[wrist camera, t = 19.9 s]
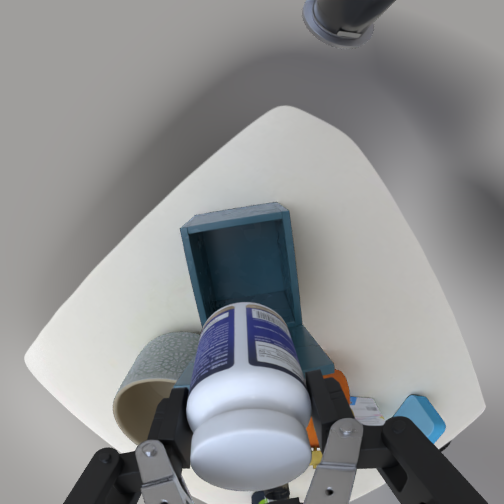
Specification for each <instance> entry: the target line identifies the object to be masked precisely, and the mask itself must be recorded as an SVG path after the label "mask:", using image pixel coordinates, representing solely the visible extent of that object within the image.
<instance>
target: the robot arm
mask: <svg viewBox="0 0 504 504" xmlns="http://www.w3.org/2000/svg"><path fill="white" fill-rule="evenodd" d="M395 1H396V0H315V2H314V4H313V6H312V16H313V19H314V21H315V22H316V24H317V25H318V26H319V27H320V28H321V29H322V30H323V31H325V32H326V33H328V34H330V35H332V36H334V37H337V38H340V39H346V40H350V39H356V38H359V37H360V36H362V35H363V34H364V33H365V32H366V30H367V29H368V28H369V27H370V26H371V25H372V24H373V23H374V22H375V21H376V20H377V18H379V17H380V16H381V15H382V14H383V13H384V12H385V11H386V10H387V9H388V8H389V7H390V6H391V5H392V3H394V2H395ZM305 381H306V386H307V389H308V392H309V395H310V400H311V406H312V413H311V417H312V420H313V424H314V428H315V431H316V435H317V439H318V442H319V446H320V450H321V453H322V454H323V456H322V459H321V462H320V464H318V465H317V467H316V470H315V473H314V476H313V479H312V481H311V484H310V487H309V490H308V492H307V495H306V498H305V500H304V503H300V502H299V497H297V498H291V499H284V500H276V501H272V502H269V503H265V504H349V500H350V496H351V492H352V488H353V484H354V480H355V475H356V471H357V469H367V468H376V469H377V470H378V472H379V473H380V474H381V476H382V477H383V479H384V480H385V482H386V483H387V484H388V486H389V487H390V489H391V490H392V492H393V493H394V495H395V496H396V497H397V499H398V500H399V502H400V503H401V504H488V503H487V502H486V501H485V500H484V498H483V497H482V496H481V495H480V494H479V493H478V492H477V491H476V490H475V489H474V488H473V487H472V485H471V484H470V483H469V482H468V481H467V480H466V479H465V478H464V477H463V476H462V475H461V473H460V472H459V471H458V470H457V469H456V468H455V467H454V466H453V465H452V464H451V463H450V462H449V461H448V459H447V458H446V457H445V456H444V455H443V454H442V453H441V452H440V451H439V450H438V448H437V447H436V446H435V445H434V444H433V443H432V442H431V441H430V440H429V439H428V438H427V437H426V435H425V434H424V433H423V432H422V431H421V430H420V429H419V428H418V427H417V426H416V425H415V424H414V423H413V421H412V420H410V419H409V418H407V417H404V416H395V417H392V418H390V419H388V420H387V421H386V422H385V423H384V425H378V426H369V425H364V424H361V422H359V421H358V420H356V419H355V417H354V415H353V413H352V410H351V408H350V406H349V403H348V401H347V399H346V397H345V394H344V392H343V390H342V387H341V385H340V383H339V382H338V381H337V380H336V379H334V378H333V377H329V378H325V379H324V378H323V375H322V373H321V370H320V369H318V370H313V371H308V372H305ZM188 394H189V390H188V388H187V387H182V388H172V389H171V393H170V396H169V398H163V399H162V400H161V402H160V403H159V404H158V405H157V408H156V412H155V415H154V420H153V421H152V424H151V428H150V431H149V434H148V438H147V440H146V441H144V442H142V443H140V444H139V445H138V446H137V448H136V450H135V451H133V452H128V453H123V454H119V453H118V452H117V450H115V449H113V448H103V449H100V450H99V451H97V452H96V453H95V454H94V456H93V458H92V459H91V461H90V462H89V464H88V466H87V467H86V468H85V470H84V472H83V473H82V475H81V476H80V478H79V480H78V481H77V483H76V484H75V486H74V488H73V489H72V491H71V492H70V494H69V495H68V497H67V498H66V500H65V502H64V503H63V504H137V502H138V500H139V498H140V496H141V493H142V495H143V499H144V502H145V504H195V503H194V501H193V499H192V497H191V495H190V493H189V490H188V488H187V486H186V484H185V481H184V479H183V477H182V475H181V473H182V468H190V463H191V462H190V456H191V441H192V436H193V434H194V433H193V432H192V430H191V428H190V426H189V424H188V421H187V415H186V407H187V399H188Z"/></svg>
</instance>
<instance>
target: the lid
mask: <svg viewBox="0 0 504 504" xmlns="http://www.w3.org/2000/svg"><path fill="white" fill-rule="evenodd" d="M288 329H289V332H290V335H291V338H292V341H293V344H294V347H295V350H296V354H297V357H298V360H299V363H300V366H301V370H302V373H303V376H304V379H305V372H308V371H313V370H318V369H320V370H321V373H322V375H323V376H324V375H328V374H333V373H335V370H334V363H333V362H332V361H331V360H330V358H329V357H328V356H327V355H326V353H325V352H324V351H323V350H322V348H321V347H320V346H319V345H318V343H317V342H316V341H315V340H314V338H313V337H312V336H311V335H310V333H309V332H308V331H307V330H306V328H305V327H304V326H303V325H298V326H293V327H288ZM196 353H197V352H196ZM196 353H195V355H194V356H193V358H192V359H191V361H190V362H189V364H188V365H187V367H186V368H185V370H184V371H183V373H182V374H181V376H180V377H179V378H178V380H177V381H176V383H175V384H174V386H173V387H174V388H182V387H187V388H188V390H189V388H190V383H191V378H192V373H193V368H194V363H195V358H196Z"/></svg>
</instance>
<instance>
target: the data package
mask: <svg viewBox="0 0 504 504" xmlns="http://www.w3.org/2000/svg"><path fill="white" fill-rule="evenodd" d="M395 416H404V417H407V418H409V419H410V420H412V421H413V423H414V424H415V425H416V426H417V427H418V428H419V429H420V430H421V431H422V432H423V433H424V434H425V435H426V437H427V438H428V439H429V440H430V441H431V442H432V443H433V444H434V443H435V442H436V441H437V440H438V438H439V437H440V436H441V435H442V434H443V433H444V431H445V428H446V425H445V422H444V421H443V419H442V418H441V417H440V415H439V414H438V413H437V411H436V410H435V409H434V407H433V406H432V405H431V403H430V402H429V400H428V399H427V398H426V397H424V396H415V395H410V396H409V397H408V398H407V399H406V400H405V402H404V403H403V404H402V406H401V407H400V408H399V410H398V411H397V412H396V414H395V415H394V416H393V417H395Z"/></svg>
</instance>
